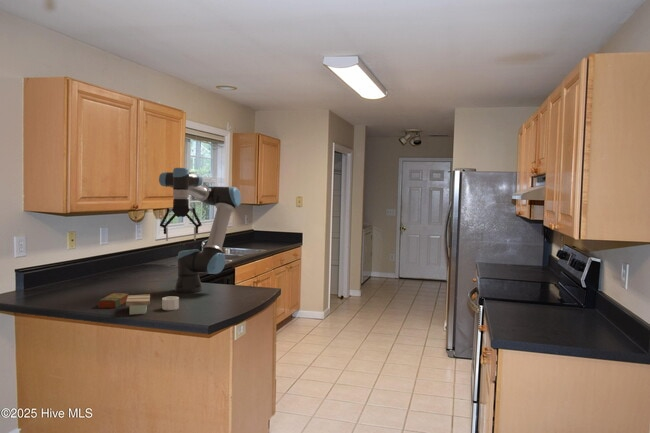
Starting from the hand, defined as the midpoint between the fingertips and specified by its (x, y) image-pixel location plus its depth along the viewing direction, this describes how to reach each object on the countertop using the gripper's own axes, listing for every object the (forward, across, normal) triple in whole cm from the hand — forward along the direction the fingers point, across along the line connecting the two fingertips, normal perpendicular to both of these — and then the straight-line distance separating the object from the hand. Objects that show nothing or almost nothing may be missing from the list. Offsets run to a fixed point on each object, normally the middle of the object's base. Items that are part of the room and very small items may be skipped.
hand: (181, 240), depth 250 cm
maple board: (+28, -20, -13) cm, 36 cm away
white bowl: (+31, -5, -13) cm, 34 cm away
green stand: (+31, -20, -13) cm, 39 cm away
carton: (+32, -32, +4) cm, 46 cm away
